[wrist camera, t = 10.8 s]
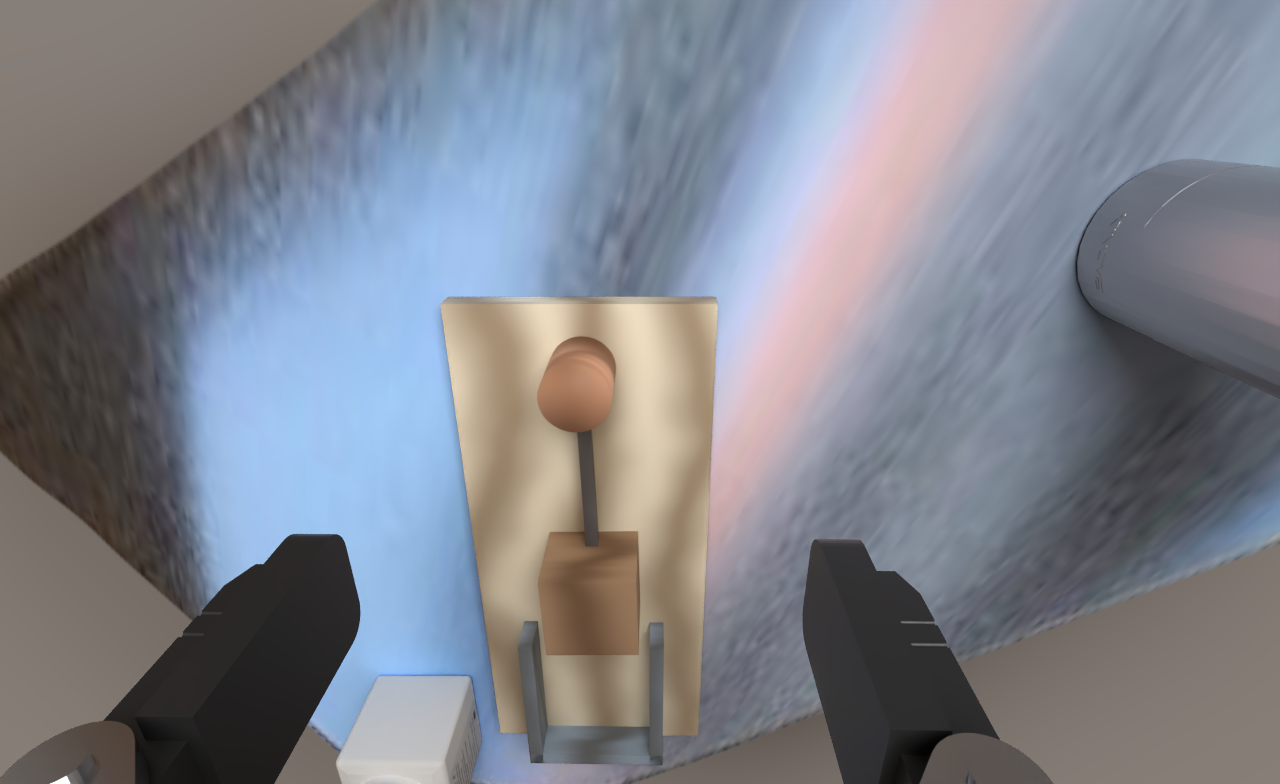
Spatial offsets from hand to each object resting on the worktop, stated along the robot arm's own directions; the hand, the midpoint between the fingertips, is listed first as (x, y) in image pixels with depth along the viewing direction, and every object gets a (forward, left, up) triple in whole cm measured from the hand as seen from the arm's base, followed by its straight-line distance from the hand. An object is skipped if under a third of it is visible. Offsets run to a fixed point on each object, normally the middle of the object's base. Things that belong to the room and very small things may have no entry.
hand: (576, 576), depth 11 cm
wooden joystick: (+3, +15, -27) cm, 31 cm away
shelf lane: (+3, +21, -28) cm, 35 cm away
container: (+17, +38, -28) cm, 50 cm away
